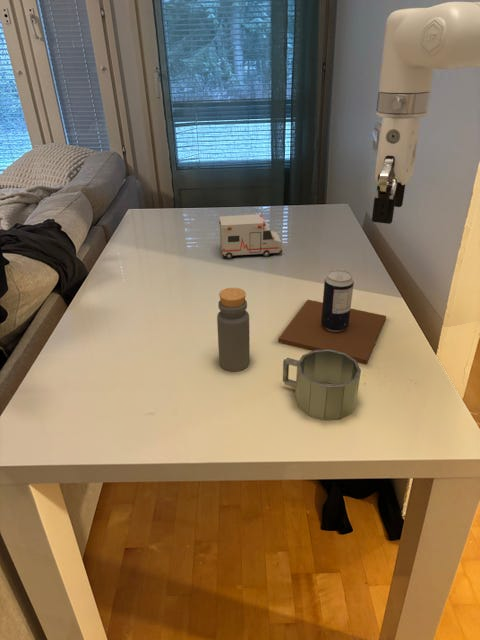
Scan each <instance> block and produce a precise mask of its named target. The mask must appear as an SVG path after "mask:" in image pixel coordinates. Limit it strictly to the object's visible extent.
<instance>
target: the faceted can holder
mask: <svg viewBox="0 0 480 640" xmlns="http://www.w3.org/2000/svg"><path fill="white" fill-rule="evenodd" d="M358 363H359V362H357V361H356V360H355V359H353V358H352V357H350V356H349V355H347V354H346V353H343V352H339V351H335V350H331V349H330V350H329V349H325V350H313V351H312V350H310V351H309V352H306V353H305V354H303V355H302V356H301V357H300V358H299V360H298V359H294V358H290V357H286V358H285V359H283V362H282V382H283V383H284V385H286V386H290V387H293V388H295V393H294V396H295V400H296V404H297V407H298V408H299V409H300V410H301V411H302V412H303V413H305V414H306V415H307V416H308V417H313V418H315V419H319V420H322V421H335V420H336V421H337V420H342V419H344V418H345V417H348V416H350V415H351V414H352V413H353V411H354V410H355V407H356V404H357V400H358V394H359V386H360V380H361V373H362V369H361V367H360V365H359V364H358ZM290 366H292V367H296V377H295V378H296V379H295V380H293V379H290V378H289V376H290V375H289V373H290Z"/></svg>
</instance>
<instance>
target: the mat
mask: <svg viewBox="0 0 480 640" xmlns="http://www.w3.org/2000/svg"><path fill="white" fill-rule="evenodd" d="M322 306H323V301H322V302H321V301H318V300H317V301H316V300H311V299H307V300H306V301H305V302H304V304H303V305H302V306H301V308H300V309H299V310H298V312H296V314H295V316H294V317H293V318H292V320H291V321H290V322H289V324H288V325H287V326H286V328H285V329H284V330H283V331H282V333H281V334H280V335H279V336H278V343H281V344H283V345H284V344H285V345H289V346H291V347H296V348H299V349H300V348H301V349H305V350H308V351H313V350H325V349H329V350H330V349H331V350H335V351H339V352H343V353H346V354H347V355H349V356H350V357H352V358H353V359H355V360H356V361H357V363H359V364H360V363H361V364H364V365H367V363H368V361H369V359H370V357H371V354H372V353H373V350H374V348H375V345H376V344H377V340H378V338H379V336H380V334H381V332H382V329H383V327H384V325H385V322H386V320H387V315H384V314H379V313H375V312H370V311H364V310H360V309H355V308H351V309H350V317H349V325H348V327H347V328H345V329H344V330H342V331H340V332H332V331H329V330H327V329H326V328H325V327H324V326H323V325H322V324H321V318H322Z"/></svg>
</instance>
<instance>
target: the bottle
mask: <svg viewBox="0 0 480 640" xmlns="http://www.w3.org/2000/svg"><path fill="white" fill-rule="evenodd" d="M246 296H247V293H246V291H245V290H244V289H242V288H239V287H228V288H224V289H222V290H220V291H219V292H218V297H219V301H218V302H217V303H218V310H219V312H217V315H216V323H217V345H218V362H219V366H220V367H221V368H222V369H223V370H226V371H229V372H240V371H242V370H245V369H246V368H247V367H248V366H250V361H251V360H250V359H251V357H250V356H251V355H250V353H251V351H250V349H251V348H250V345H251V343H250V341H251V339H250V338H251V337H250V314H249V312H248V311H247V309H248V302H247V300H246Z"/></svg>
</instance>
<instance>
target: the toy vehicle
mask: <svg viewBox="0 0 480 640" xmlns="http://www.w3.org/2000/svg"><path fill="white" fill-rule="evenodd" d="M218 218H219V219H218V223H219V224H218V225H219V240H220V249H221V254H222V257H225V259H227V260H232V258H233V256H244V255H245V256H247V255H248V256H249V255H263V257H265V258H267V257H270V255H271V254H280V253H281V254H282V253H283V249H282V240H281V239H280V236H279V234H278V232H277V231H273V230H271V228H270V226H269V223H268V222H267V220H265V219H264V217H263V215H262V214H259V213H257V214H242V215H241V214H239V215H220V216H219V217H218Z"/></svg>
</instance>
